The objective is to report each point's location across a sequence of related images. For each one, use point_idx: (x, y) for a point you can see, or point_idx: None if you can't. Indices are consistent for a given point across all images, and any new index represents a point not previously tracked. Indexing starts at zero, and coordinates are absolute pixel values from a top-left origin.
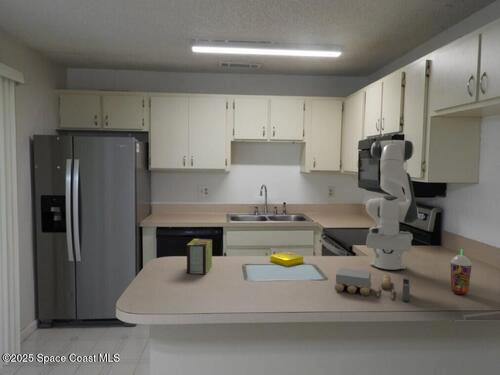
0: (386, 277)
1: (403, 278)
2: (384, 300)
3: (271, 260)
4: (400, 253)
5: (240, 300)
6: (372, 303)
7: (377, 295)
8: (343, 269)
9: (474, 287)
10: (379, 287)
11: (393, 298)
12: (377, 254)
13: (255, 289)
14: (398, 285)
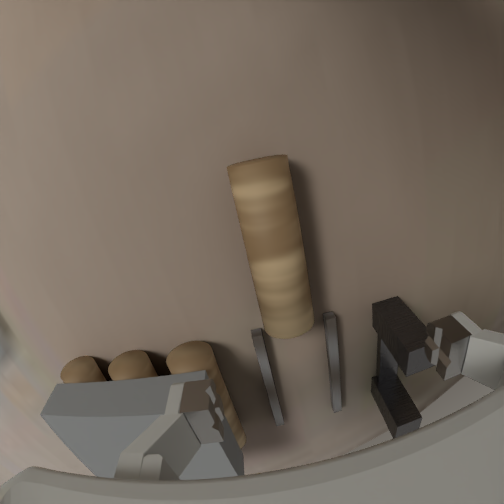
0: (276, 240)
1: (408, 366)
2: (307, 421)
3: None
4: (500, 354)
5: None
6: (275, 455)
7: (279, 424)
8: (74, 437)
9: None
10: (259, 340)
11: (340, 409)
12: (205, 442)
13: (13, 464)
14: (339, 188)
